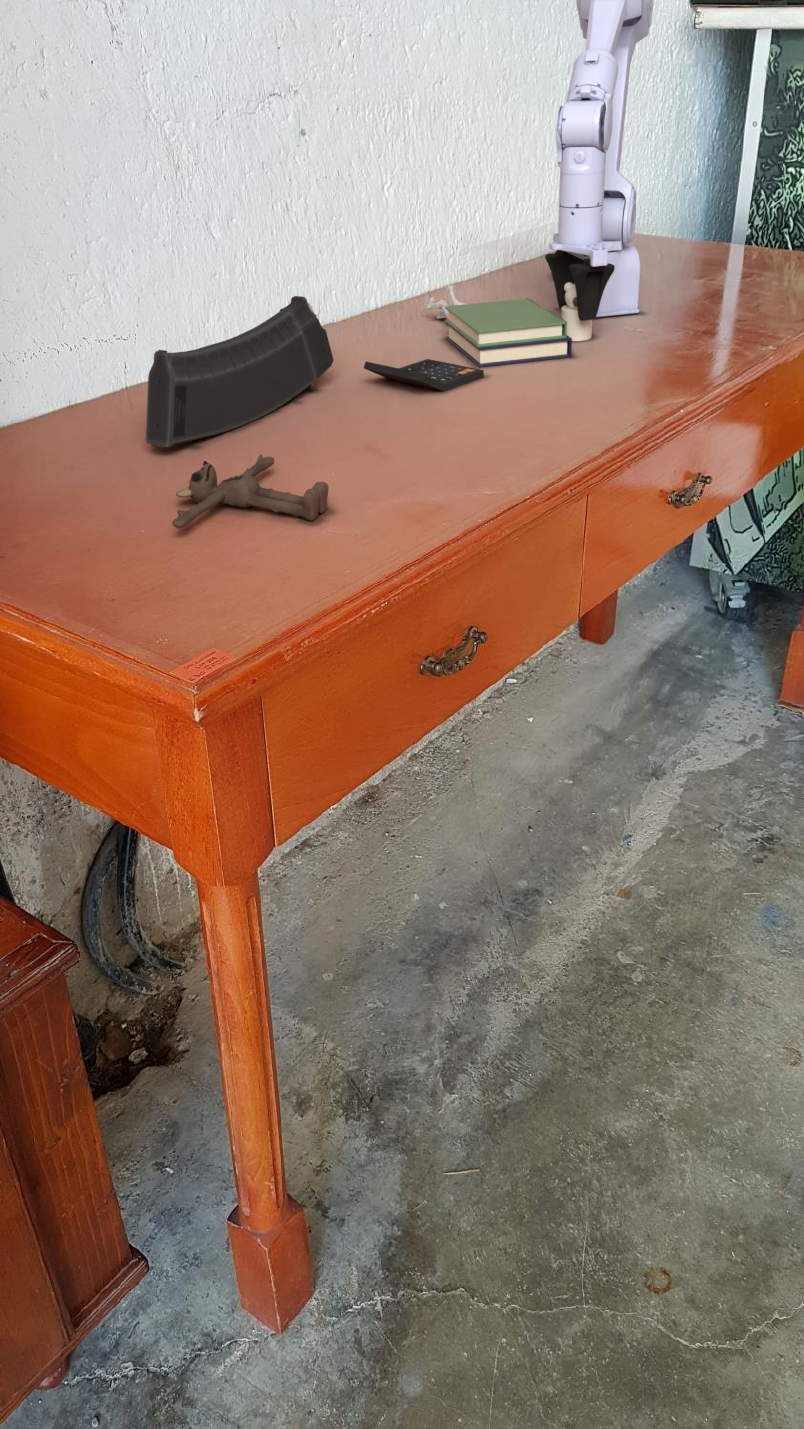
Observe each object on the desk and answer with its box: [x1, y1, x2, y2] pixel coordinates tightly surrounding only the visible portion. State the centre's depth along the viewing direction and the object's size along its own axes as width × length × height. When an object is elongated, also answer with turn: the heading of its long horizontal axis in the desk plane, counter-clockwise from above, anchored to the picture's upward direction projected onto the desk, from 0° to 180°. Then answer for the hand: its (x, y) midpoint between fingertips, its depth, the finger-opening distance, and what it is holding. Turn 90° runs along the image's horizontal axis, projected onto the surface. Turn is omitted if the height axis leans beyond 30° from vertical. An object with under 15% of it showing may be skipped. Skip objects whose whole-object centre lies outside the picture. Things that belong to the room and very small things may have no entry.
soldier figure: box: [425, 283, 467, 320], centre depth 164 cm, size 8×5×12 cm
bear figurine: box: [171, 454, 329, 529], centre depth 107 cm, size 18×4×14 cm
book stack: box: [444, 297, 573, 368], centre depth 153 cm, size 12×16×4 cm
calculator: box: [363, 358, 485, 392], centre depth 141 cm, size 9×12×3 cm
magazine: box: [145, 295, 334, 449], centre depth 129 cm, size 17×3×30 cm
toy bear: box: [560, 282, 593, 342], centre depth 155 cm, size 4×4×7 cm
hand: (576, 313), depth 155 cm, fingers open, 7 cm apart
